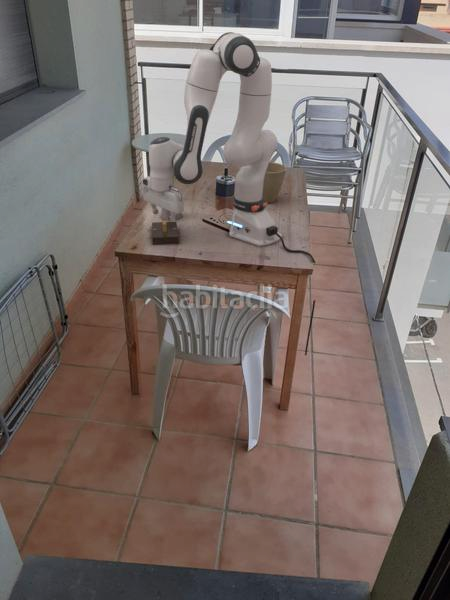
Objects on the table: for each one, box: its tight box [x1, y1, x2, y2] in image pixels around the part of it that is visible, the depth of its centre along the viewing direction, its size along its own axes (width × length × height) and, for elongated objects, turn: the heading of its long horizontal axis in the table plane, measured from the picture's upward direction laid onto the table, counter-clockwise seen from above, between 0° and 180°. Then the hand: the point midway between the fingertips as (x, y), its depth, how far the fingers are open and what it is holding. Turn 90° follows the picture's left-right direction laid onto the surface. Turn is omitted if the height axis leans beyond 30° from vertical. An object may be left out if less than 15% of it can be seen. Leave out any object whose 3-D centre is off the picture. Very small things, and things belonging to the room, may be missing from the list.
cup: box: [161, 208, 182, 221], centre depth 201 cm, size 8×8×10 cm
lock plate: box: [151, 221, 180, 245], centre depth 186 cm, size 14×10×3 cm
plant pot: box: [262, 161, 287, 204], centre depth 217 cm, size 15×15×16 cm
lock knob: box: [161, 218, 167, 232], centre depth 185 cm, size 5×1×3 cm, turn 8°
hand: (163, 217), depth 183 cm, fingers open, 8 cm apart
